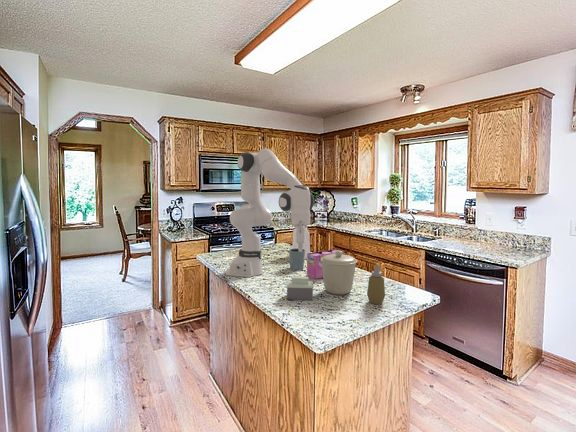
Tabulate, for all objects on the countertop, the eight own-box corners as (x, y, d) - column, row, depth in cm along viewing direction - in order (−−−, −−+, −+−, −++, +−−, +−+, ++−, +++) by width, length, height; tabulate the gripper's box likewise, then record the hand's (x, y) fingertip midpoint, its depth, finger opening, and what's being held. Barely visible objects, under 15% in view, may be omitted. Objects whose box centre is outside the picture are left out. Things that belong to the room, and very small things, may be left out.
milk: (291, 255, 247) (292, 220, 244) (307, 255, 248) (307, 220, 246) (294, 259, 235) (294, 222, 232) (310, 259, 237) (310, 222, 234)
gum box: (336, 269, 210) (337, 248, 208) (345, 272, 203) (346, 250, 202) (306, 275, 196) (306, 253, 195) (314, 279, 190) (315, 255, 188)
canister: (318, 285, 179) (319, 246, 176) (353, 286, 178) (354, 247, 176) (321, 297, 161) (322, 254, 158) (359, 298, 160) (360, 254, 158)
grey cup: (287, 269, 209) (287, 251, 207) (290, 265, 218) (291, 247, 217) (303, 271, 206) (303, 252, 205) (306, 266, 216) (306, 248, 215)
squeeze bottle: (364, 299, 158) (365, 262, 156) (381, 299, 159) (382, 262, 157) (370, 306, 150) (371, 266, 148) (387, 305, 151) (389, 266, 149)
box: (287, 299, 157) (287, 287, 157) (287, 294, 164) (287, 282, 164) (312, 300, 157) (312, 288, 156) (312, 295, 164) (312, 283, 163)
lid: (286, 289, 156) (286, 279, 156) (287, 284, 164) (287, 275, 163) (313, 289, 156) (313, 280, 155) (313, 284, 163) (313, 275, 163)
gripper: (307, 223, 146) (307, 254, 147) (307, 217, 166) (307, 245, 168) (293, 222, 146) (293, 254, 148) (294, 217, 167) (294, 245, 168)
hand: (300, 249), depth 158 cm, fingers open, 8 cm apart
